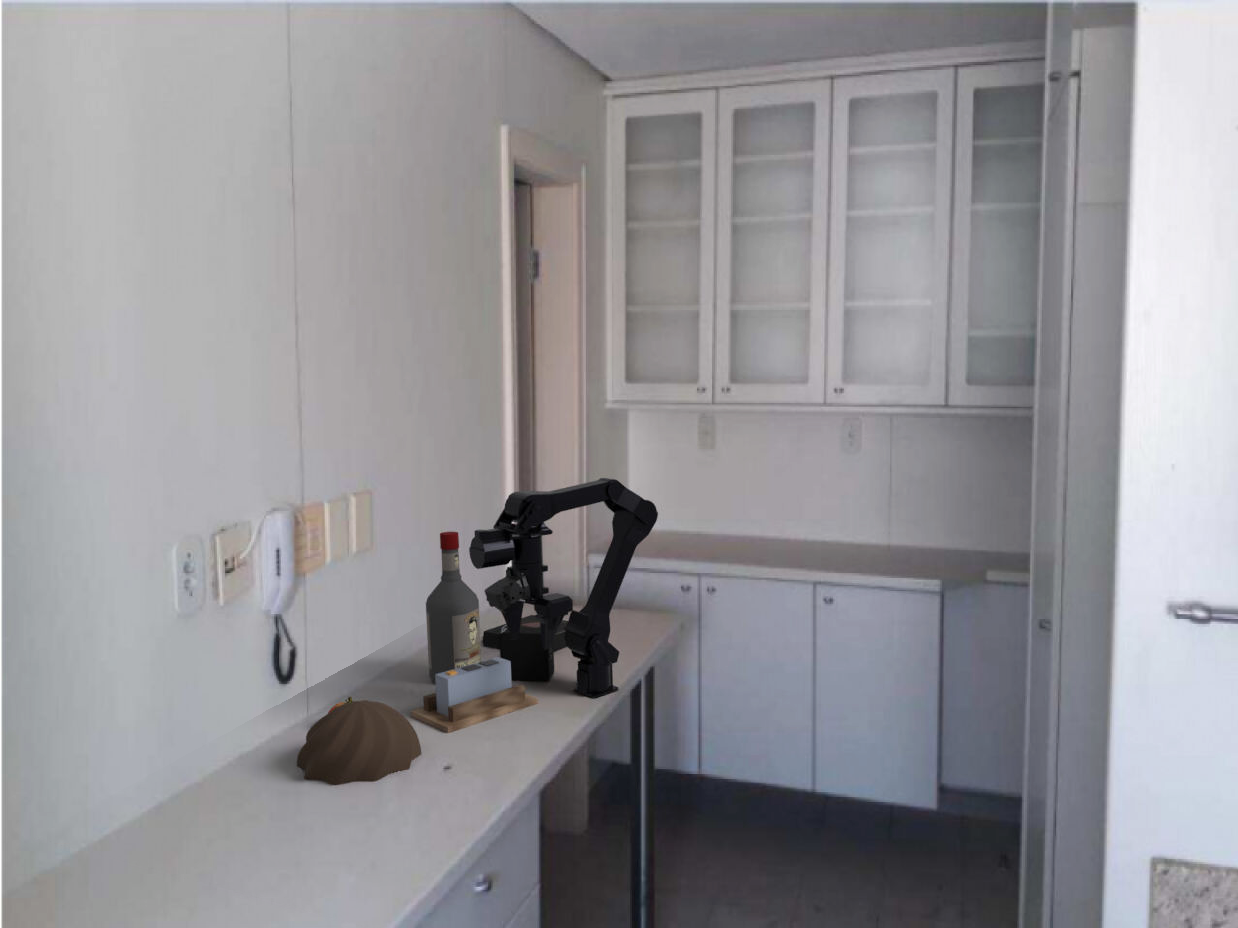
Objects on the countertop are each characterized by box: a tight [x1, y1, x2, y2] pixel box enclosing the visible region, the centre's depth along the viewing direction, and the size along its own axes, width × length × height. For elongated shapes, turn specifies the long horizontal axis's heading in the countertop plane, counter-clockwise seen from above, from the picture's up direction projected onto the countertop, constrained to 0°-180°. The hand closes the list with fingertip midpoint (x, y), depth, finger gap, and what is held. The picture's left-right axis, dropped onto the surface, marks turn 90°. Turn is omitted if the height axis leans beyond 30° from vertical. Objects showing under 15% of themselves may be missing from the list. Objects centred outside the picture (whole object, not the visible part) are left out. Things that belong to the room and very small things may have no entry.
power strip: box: [435, 656, 513, 716], centre depth 185 cm, size 14×4×7 cm, turn 134°
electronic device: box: [499, 627, 555, 683], centre depth 202 cm, size 4×10×10 cm, turn 78°
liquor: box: [425, 531, 482, 685], centre depth 202 cm, size 9×9×30 cm
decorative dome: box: [296, 699, 422, 786], centre depth 163 cm, size 19×20×10 cm
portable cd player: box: [481, 614, 568, 653], centre depth 228 cm, size 16×17×4 cm
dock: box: [410, 684, 539, 734], centre depth 185 cm, size 20×12×4 cm, turn 134°
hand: (530, 644), depth 184 cm, fingers open, 9 cm apart
